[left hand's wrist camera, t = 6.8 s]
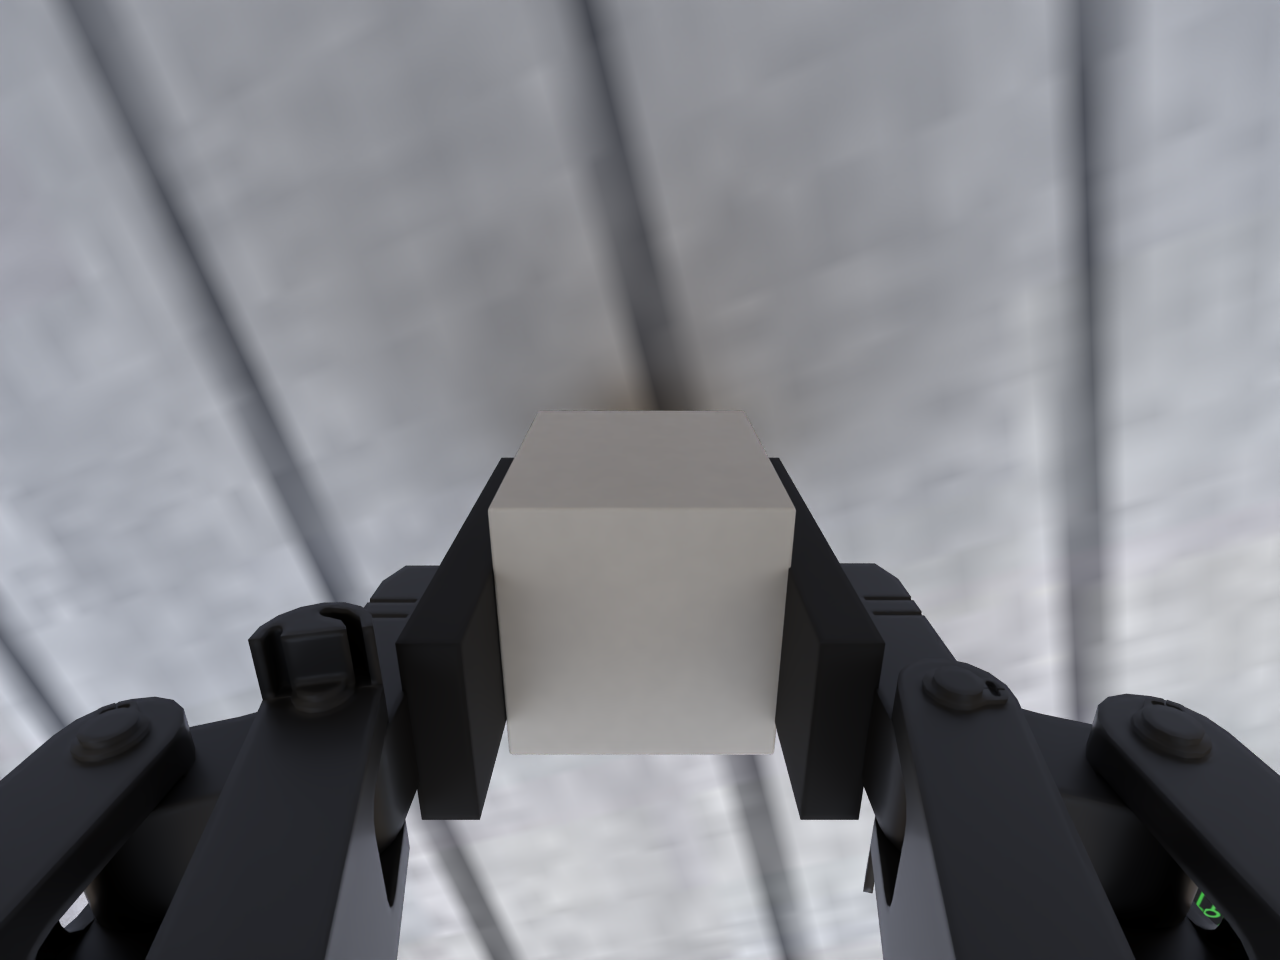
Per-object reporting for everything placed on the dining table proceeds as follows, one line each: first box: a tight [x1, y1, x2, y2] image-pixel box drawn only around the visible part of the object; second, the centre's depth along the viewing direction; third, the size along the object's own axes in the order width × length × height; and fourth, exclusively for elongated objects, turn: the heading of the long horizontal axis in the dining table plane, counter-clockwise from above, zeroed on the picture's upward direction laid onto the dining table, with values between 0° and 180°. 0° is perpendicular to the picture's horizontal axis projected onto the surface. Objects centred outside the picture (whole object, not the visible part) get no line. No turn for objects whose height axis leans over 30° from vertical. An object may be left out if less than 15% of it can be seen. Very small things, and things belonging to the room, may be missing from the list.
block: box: [488, 411, 796, 755], centre depth 12 cm, size 4×4×5 cm
